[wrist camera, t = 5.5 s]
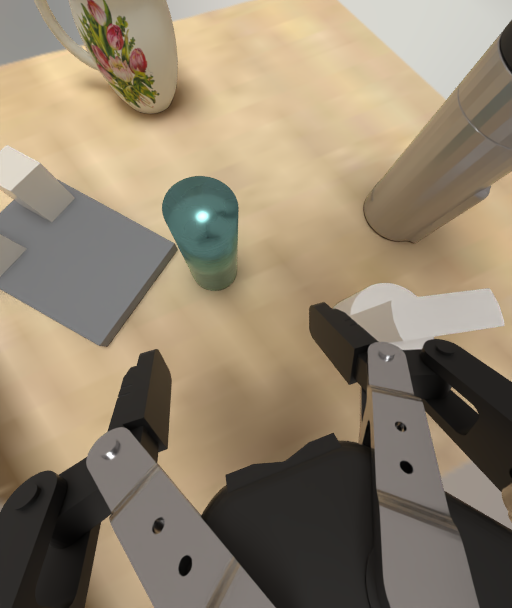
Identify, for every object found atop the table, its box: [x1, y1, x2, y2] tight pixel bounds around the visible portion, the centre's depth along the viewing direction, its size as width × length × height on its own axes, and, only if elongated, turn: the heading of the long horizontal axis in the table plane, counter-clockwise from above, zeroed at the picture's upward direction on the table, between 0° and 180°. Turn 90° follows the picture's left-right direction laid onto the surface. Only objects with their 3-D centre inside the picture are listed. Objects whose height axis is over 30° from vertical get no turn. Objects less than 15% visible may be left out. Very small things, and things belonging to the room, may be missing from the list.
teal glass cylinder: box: [162, 176, 238, 291], centre depth 22 cm, size 6×6×12 cm
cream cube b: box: [0, 145, 75, 222], centre depth 24 cm, size 4×4×5 cm
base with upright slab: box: [333, 283, 504, 350], centre depth 22 cm, size 9×9×12 cm
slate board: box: [0, 180, 178, 346], centre depth 26 cm, size 19×14×2 cm
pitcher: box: [34, 0, 178, 114], centre depth 27 cm, size 11×18×14 cm, turn 84°
